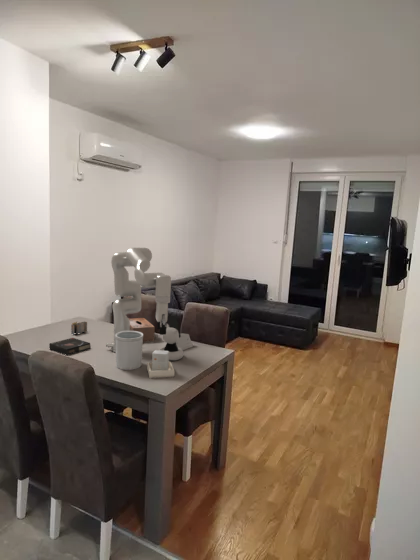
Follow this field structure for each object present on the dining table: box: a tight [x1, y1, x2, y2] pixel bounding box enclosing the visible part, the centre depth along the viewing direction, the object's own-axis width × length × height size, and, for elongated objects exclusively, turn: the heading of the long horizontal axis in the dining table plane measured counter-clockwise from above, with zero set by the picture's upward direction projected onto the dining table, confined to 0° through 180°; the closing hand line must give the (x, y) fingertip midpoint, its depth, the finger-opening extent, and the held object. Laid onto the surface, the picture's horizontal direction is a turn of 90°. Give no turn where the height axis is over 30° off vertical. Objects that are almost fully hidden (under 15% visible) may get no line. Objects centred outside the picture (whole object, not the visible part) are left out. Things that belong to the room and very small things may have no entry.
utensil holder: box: [115, 331, 144, 371], centre depth 202 cm, size 15×15×18 cm
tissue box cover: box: [128, 317, 155, 343], centre depth 257 cm, size 26×14×10 cm, turn 26°
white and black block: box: [176, 333, 194, 351], centre depth 237 cm, size 17×5×10 cm, turn 143°
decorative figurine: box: [160, 323, 185, 361], centre depth 218 cm, size 15×15×20 cm
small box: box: [151, 349, 170, 371], centre depth 194 cm, size 8×6×10 cm
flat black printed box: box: [48, 337, 92, 356], centre depth 224 cm, size 16×17×4 cm
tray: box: [146, 361, 175, 379], centre depth 194 cm, size 13×13×4 cm
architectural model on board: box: [70, 320, 88, 336], centre depth 257 cm, size 11×3×10 cm, turn 150°
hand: (161, 331), depth 192 cm, fingers open, 9 cm apart
